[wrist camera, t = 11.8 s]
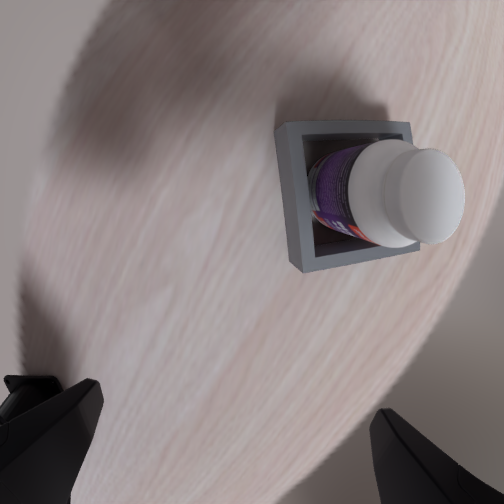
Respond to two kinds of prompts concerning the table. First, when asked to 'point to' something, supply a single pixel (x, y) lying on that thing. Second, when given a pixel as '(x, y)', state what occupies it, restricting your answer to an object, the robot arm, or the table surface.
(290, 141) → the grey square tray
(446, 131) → the table surface
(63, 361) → the table surface
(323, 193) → the pill bottle
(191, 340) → the table surface
